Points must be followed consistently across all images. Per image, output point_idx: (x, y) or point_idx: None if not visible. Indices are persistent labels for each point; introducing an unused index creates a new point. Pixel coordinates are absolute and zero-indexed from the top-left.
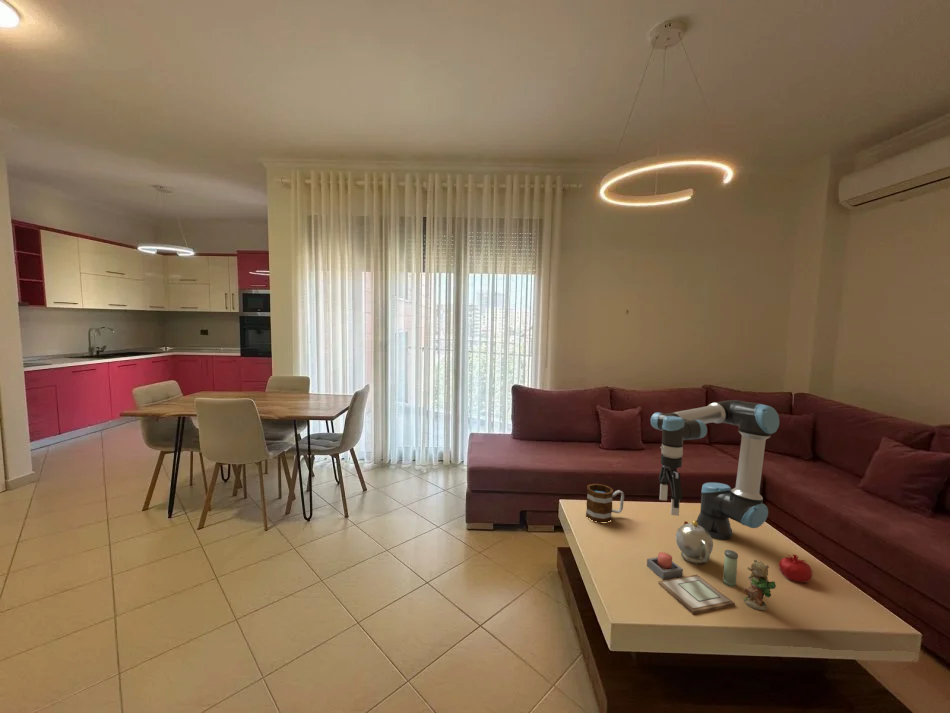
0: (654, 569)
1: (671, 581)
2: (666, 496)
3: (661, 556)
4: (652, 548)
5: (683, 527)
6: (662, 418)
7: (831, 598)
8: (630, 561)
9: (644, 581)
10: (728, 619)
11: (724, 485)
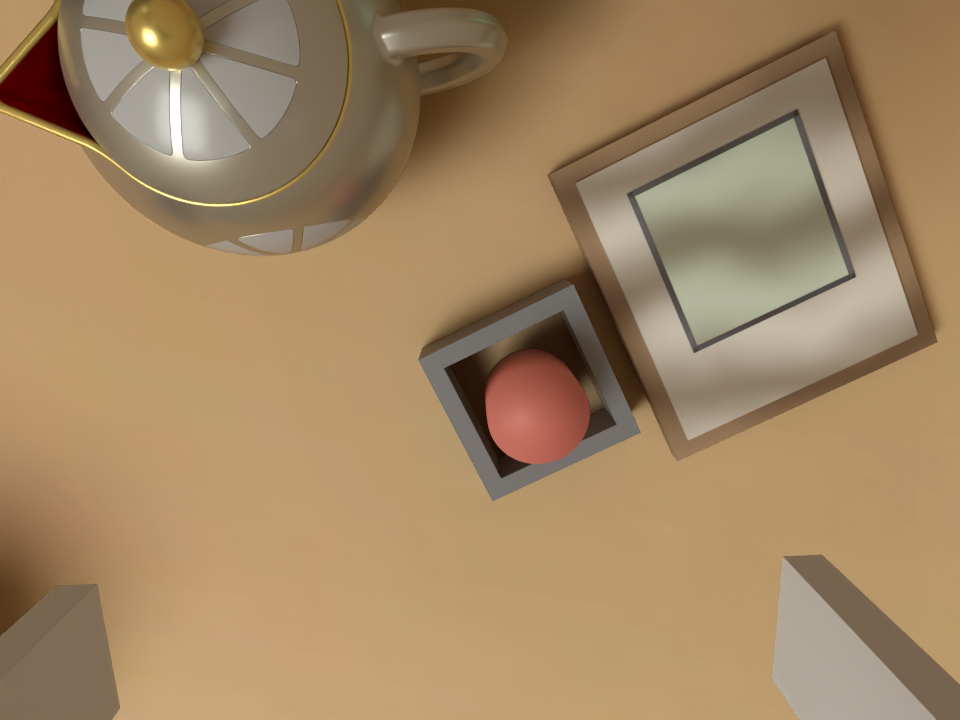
0: None
1: (671, 383)
2: (40, 662)
3: (553, 445)
4: (242, 388)
5: (207, 189)
6: None
7: None
8: (460, 567)
9: (661, 527)
10: (952, 140)
11: None
